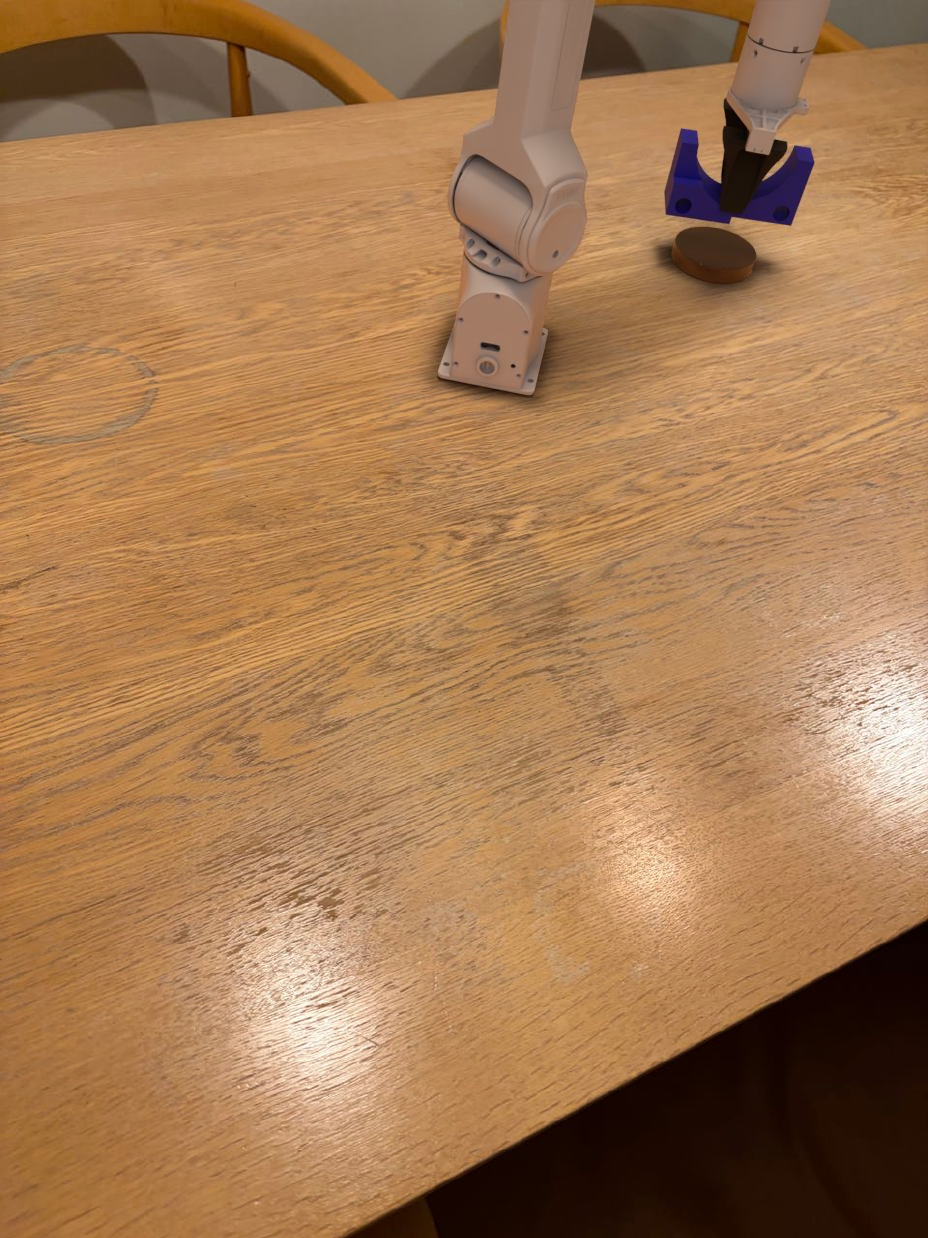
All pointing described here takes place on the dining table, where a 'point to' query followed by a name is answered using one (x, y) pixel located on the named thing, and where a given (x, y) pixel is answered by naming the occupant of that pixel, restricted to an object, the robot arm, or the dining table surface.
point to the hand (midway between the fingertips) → (731, 198)
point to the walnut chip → (713, 254)
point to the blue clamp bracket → (701, 194)
